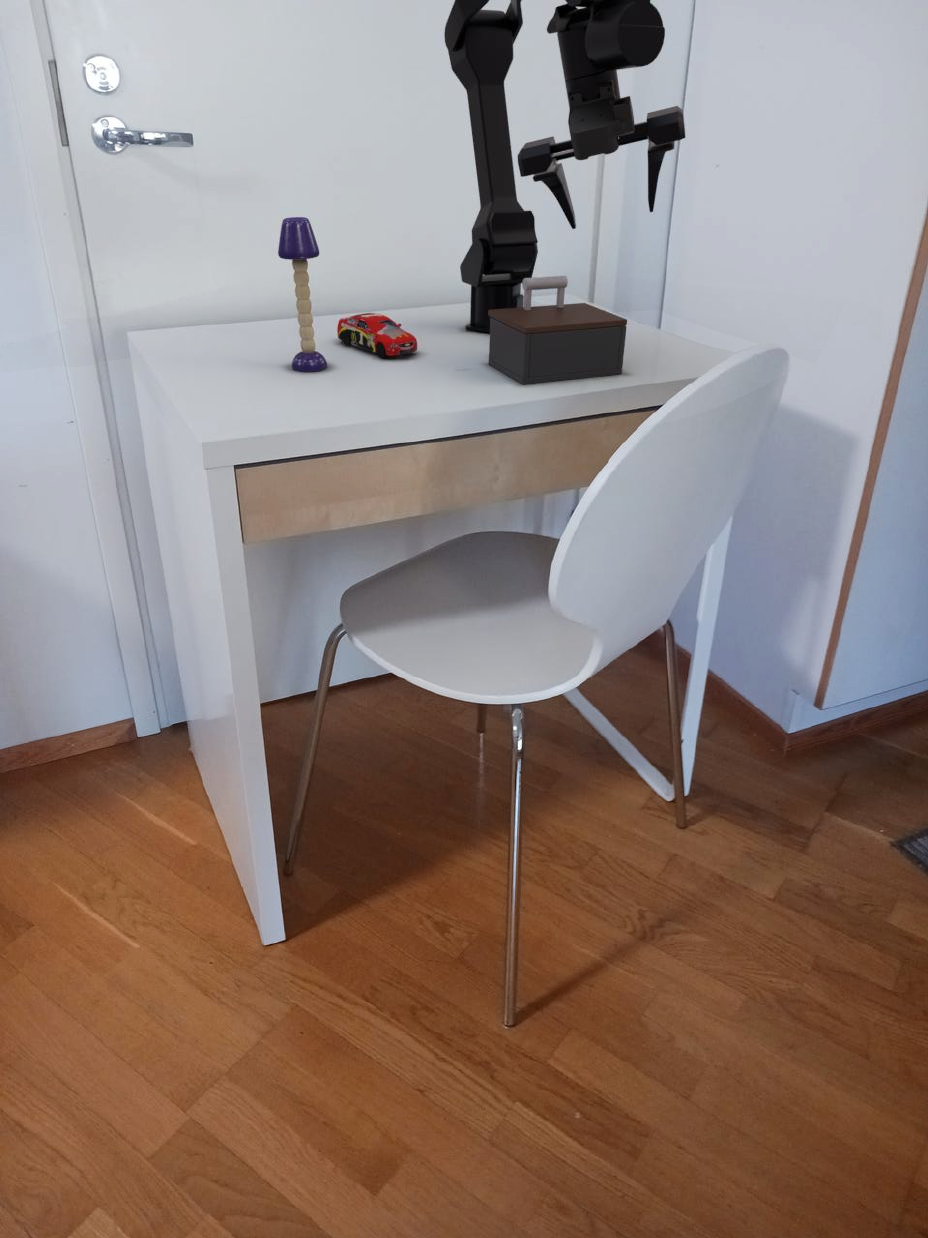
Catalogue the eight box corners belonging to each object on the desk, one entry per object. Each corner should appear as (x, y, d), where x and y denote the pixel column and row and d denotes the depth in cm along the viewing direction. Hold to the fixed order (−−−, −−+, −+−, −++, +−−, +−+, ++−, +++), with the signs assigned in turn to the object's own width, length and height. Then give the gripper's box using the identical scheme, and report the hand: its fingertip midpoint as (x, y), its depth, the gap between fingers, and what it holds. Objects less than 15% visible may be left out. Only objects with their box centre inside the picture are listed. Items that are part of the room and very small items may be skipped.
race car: (425, 356, 120) (425, 324, 118) (389, 362, 117) (389, 329, 115) (366, 335, 129) (365, 305, 127) (332, 340, 126) (330, 309, 124)
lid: (488, 315, 115) (489, 277, 113) (584, 308, 120) (587, 271, 118) (525, 333, 107) (527, 293, 105) (626, 325, 112) (630, 286, 110)
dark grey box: (488, 364, 117) (490, 317, 115) (582, 355, 122) (586, 309, 119) (522, 384, 110) (525, 334, 107) (621, 374, 115) (626, 325, 112)
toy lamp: (293, 373, 112) (283, 221, 104) (281, 364, 115) (270, 216, 107) (332, 369, 114) (324, 219, 106) (318, 360, 117) (310, 214, 109)
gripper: (497, 104, 101) (527, 254, 109) (676, 58, 96) (693, 218, 104) (512, 91, 110) (539, 230, 118) (676, 47, 105) (692, 196, 113)
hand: (612, 219), depth 113 cm, fingers open, 9 cm apart
